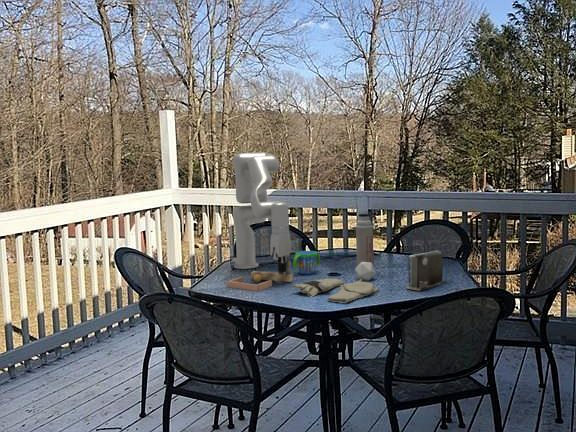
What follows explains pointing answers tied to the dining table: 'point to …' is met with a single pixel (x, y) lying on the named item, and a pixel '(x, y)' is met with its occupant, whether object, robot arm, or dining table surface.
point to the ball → (257, 278)
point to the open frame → (240, 285)
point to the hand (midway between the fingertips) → (282, 271)
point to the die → (365, 271)
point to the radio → (425, 270)
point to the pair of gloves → (346, 290)
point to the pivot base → (281, 281)
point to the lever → (276, 274)
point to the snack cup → (306, 261)
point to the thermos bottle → (364, 240)
